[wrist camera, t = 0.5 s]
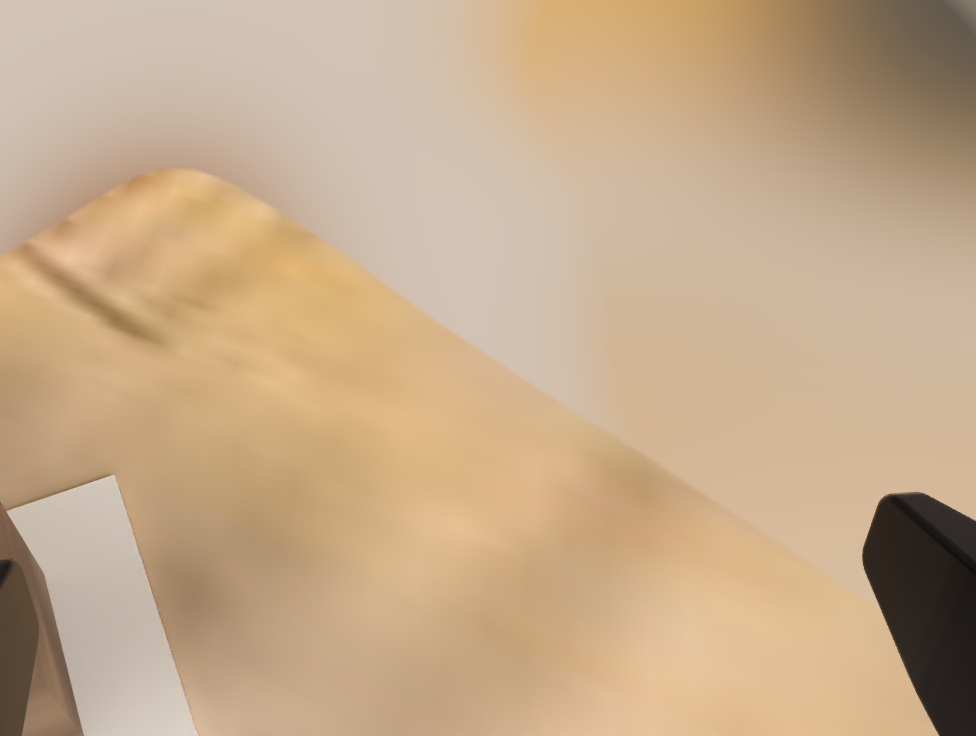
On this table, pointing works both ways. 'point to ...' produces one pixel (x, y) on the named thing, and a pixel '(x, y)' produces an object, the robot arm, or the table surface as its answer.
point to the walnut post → (42, 649)
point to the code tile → (105, 613)
